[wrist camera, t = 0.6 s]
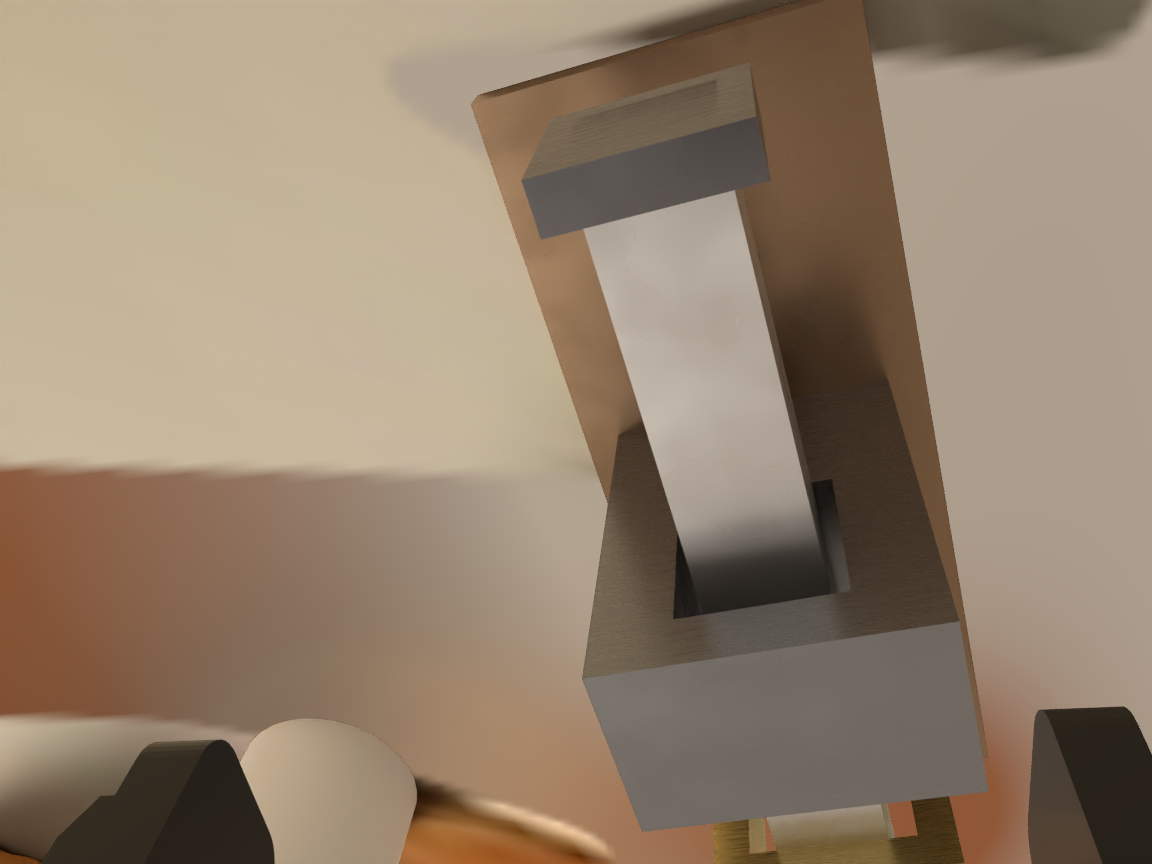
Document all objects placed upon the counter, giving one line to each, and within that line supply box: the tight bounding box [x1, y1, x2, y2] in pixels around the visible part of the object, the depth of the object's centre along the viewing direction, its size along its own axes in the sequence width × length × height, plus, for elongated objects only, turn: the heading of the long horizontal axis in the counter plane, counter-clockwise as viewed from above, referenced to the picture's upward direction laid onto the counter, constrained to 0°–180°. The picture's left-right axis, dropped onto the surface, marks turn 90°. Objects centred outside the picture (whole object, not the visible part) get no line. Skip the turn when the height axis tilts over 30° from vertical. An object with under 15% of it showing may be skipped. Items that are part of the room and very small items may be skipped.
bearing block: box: [471, 0, 988, 832], centre depth 29 cm, size 10×26×12 cm, turn 17°
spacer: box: [714, 796, 964, 864], centre depth 32 cm, size 6×2×6 cm, turn 107°
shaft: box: [521, 63, 895, 851], centre depth 27 cm, size 4×24×4 cm, turn 17°
